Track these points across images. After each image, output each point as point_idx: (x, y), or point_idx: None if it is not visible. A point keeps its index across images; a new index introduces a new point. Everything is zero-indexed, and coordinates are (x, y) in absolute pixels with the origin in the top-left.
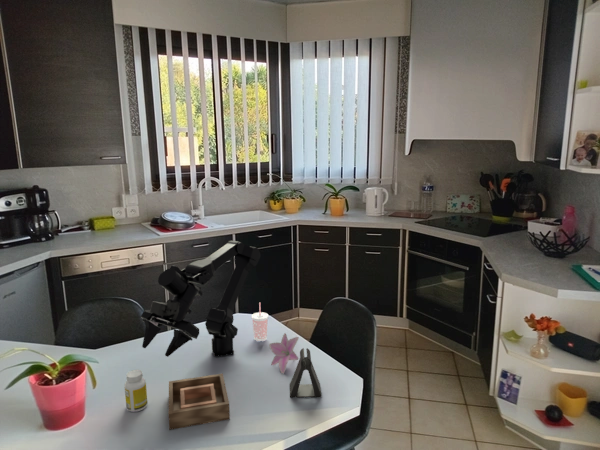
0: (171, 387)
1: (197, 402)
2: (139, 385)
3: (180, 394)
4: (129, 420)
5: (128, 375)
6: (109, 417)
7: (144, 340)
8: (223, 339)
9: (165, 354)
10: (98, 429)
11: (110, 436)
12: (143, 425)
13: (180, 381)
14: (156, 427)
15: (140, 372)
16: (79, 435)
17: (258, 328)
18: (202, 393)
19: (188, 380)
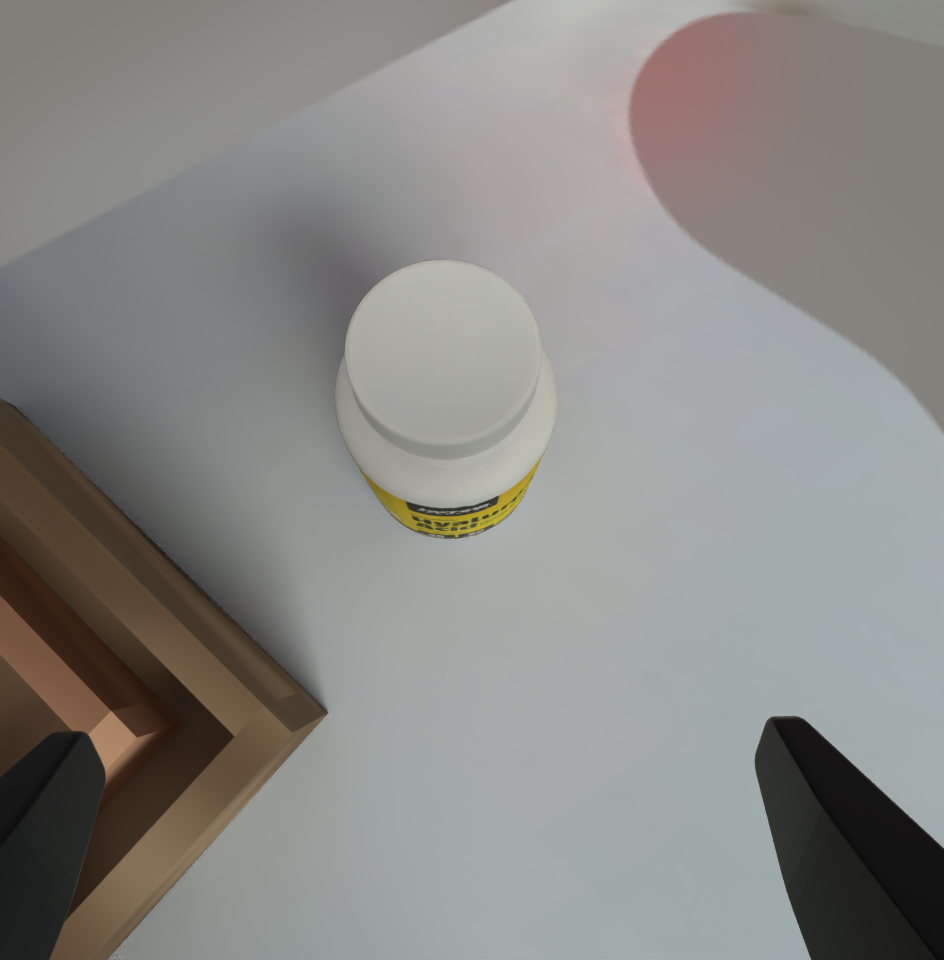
0: (180, 664)
1: (2, 760)
2: (339, 367)
3: (61, 660)
4: None
5: (467, 280)
6: (513, 276)
7: (881, 830)
8: None
9: (65, 740)
10: (461, 169)
11: (331, 168)
12: (223, 344)
13: (174, 809)
14: (122, 377)
15: (394, 406)
16: (511, 81)
17: None
18: None
19: (104, 879)
